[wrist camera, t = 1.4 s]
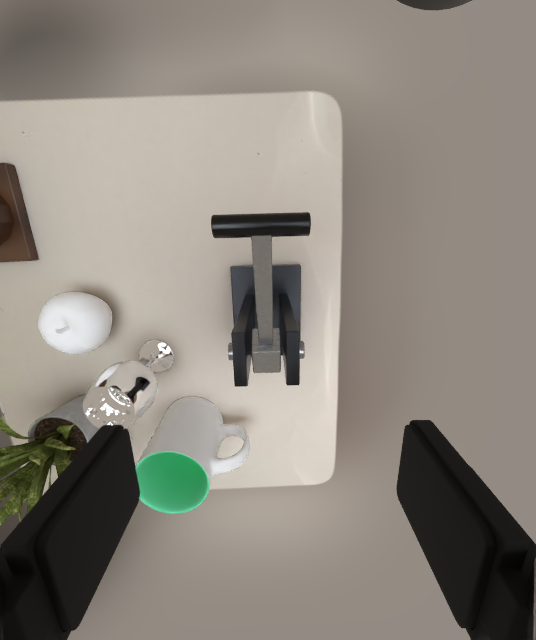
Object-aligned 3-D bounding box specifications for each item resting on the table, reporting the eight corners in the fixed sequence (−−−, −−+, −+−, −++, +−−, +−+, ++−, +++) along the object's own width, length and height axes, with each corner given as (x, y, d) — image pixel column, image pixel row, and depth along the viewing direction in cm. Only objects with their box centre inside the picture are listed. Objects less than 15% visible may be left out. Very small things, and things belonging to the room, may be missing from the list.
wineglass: (141, 328, 37) (84, 371, 26) (185, 345, 38) (149, 394, 26) (128, 367, 39) (69, 424, 27) (171, 382, 39) (131, 445, 28)
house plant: (47, 462, 43) (-80, 594, 27) (13, 375, 39) (-158, 472, 23) (144, 452, 42) (72, 581, 27) (119, 364, 38) (18, 454, 23)
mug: (245, 388, 40) (238, 440, 30) (256, 438, 42) (252, 503, 32) (158, 401, 40) (121, 457, 30) (173, 450, 42) (143, 517, 32)
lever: (213, 205, 16) (208, 227, 15) (307, 203, 16) (312, 225, 15) (236, 350, 26) (235, 373, 24) (296, 348, 26) (298, 372, 24)
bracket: (231, 266, 35) (206, 288, 21) (299, 264, 35) (321, 285, 21) (236, 352, 38) (218, 424, 24) (299, 351, 38) (318, 421, 24)
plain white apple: (136, 319, 37) (101, 342, 29) (95, 351, 38) (51, 381, 30) (95, 273, 35) (47, 285, 28) (54, 308, 36) (-3, 328, 29)
